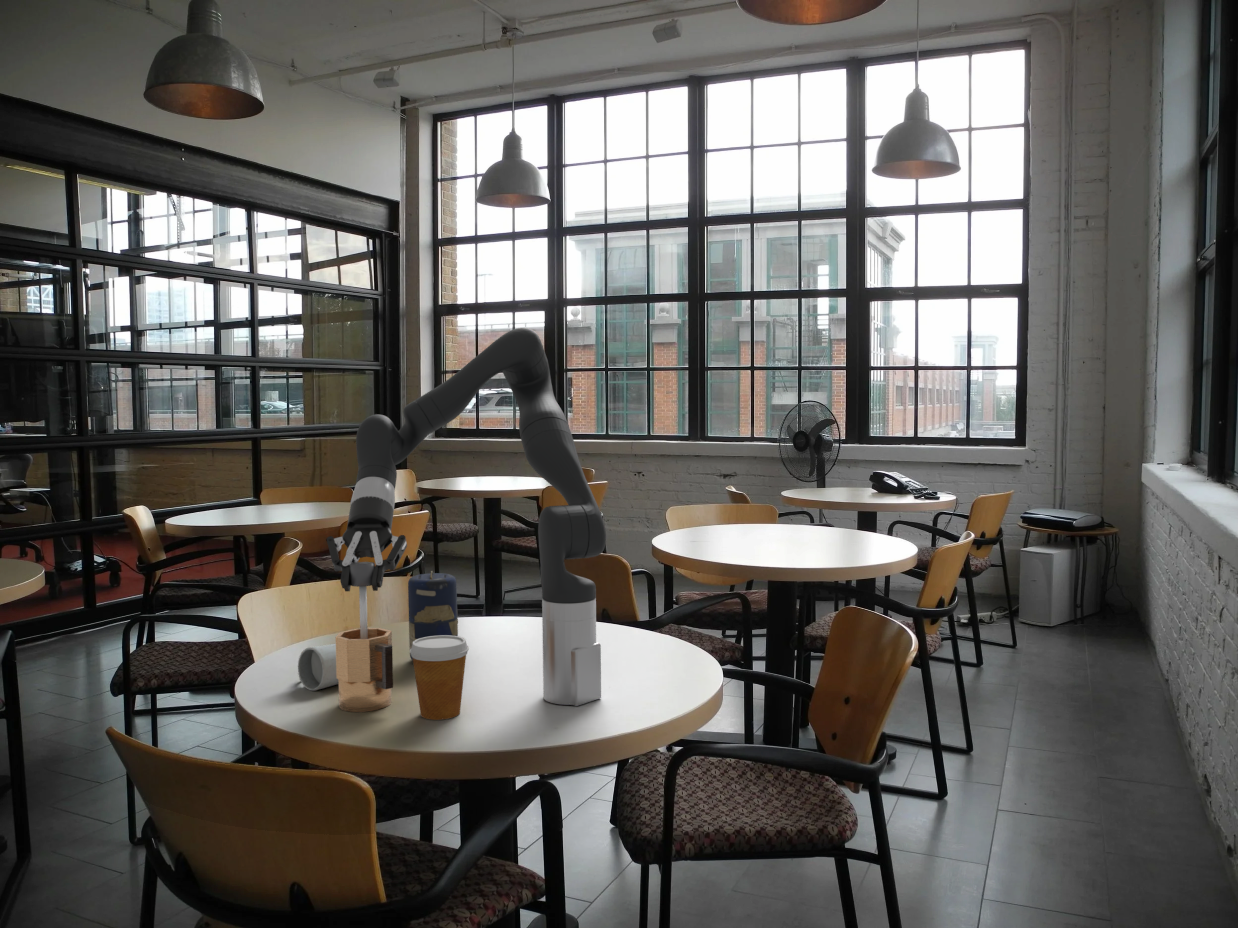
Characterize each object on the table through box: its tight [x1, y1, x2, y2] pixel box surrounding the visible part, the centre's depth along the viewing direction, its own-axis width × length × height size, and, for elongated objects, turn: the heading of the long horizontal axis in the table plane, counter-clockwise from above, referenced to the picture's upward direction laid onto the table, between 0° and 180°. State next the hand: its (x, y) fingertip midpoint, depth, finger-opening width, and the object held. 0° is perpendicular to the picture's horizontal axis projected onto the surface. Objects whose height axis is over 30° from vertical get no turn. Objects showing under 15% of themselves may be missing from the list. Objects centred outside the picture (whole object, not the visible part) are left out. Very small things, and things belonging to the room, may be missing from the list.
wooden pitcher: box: [335, 627, 394, 713], centre depth 158 cm, size 11×9×12 cm
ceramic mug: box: [297, 643, 338, 692], centre depth 172 cm, size 11×8×8 cm
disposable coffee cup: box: [409, 635, 470, 721], centre depth 154 cm, size 10×10×12 cm
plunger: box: [350, 561, 376, 639], centre depth 159 cm, size 4×4×15 cm
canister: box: [407, 570, 459, 661], centre depth 187 cm, size 10×10×18 cm
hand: (360, 588), depth 157 cm, fingers closed on plunger, 4 cm apart
